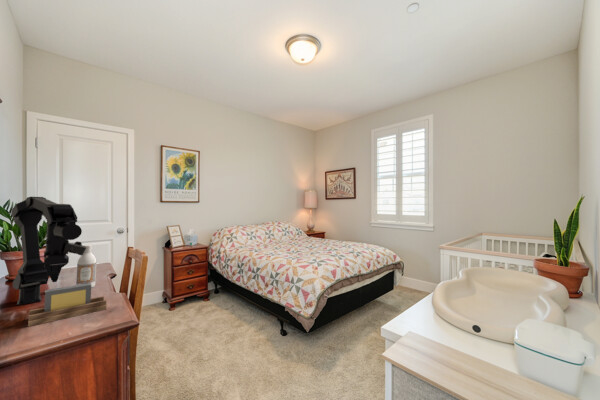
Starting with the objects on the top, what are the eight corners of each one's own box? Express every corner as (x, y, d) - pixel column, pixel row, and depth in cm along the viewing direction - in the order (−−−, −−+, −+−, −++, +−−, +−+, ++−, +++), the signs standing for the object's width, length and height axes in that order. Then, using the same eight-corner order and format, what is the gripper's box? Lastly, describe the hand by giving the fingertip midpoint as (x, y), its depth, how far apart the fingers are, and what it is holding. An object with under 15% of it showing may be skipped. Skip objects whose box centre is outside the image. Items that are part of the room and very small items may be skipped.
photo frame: (44, 316, 84) (45, 292, 84) (44, 313, 86) (45, 290, 86) (90, 306, 92) (91, 284, 93) (89, 304, 95) (90, 283, 95)
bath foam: (74, 290, 114) (76, 246, 114) (77, 286, 119) (79, 244, 120) (94, 288, 117) (96, 245, 118) (96, 284, 123) (97, 243, 124)
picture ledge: (28, 326, 79) (28, 317, 80) (29, 318, 85) (29, 309, 85) (106, 309, 94) (106, 301, 94) (102, 303, 99) (103, 295, 99)
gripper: (88, 239, 92) (85, 281, 92) (82, 233, 105) (80, 270, 105) (45, 241, 84) (42, 287, 84) (45, 234, 97) (42, 274, 97)
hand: (54, 278), depth 93 cm, fingers open, 9 cm apart
